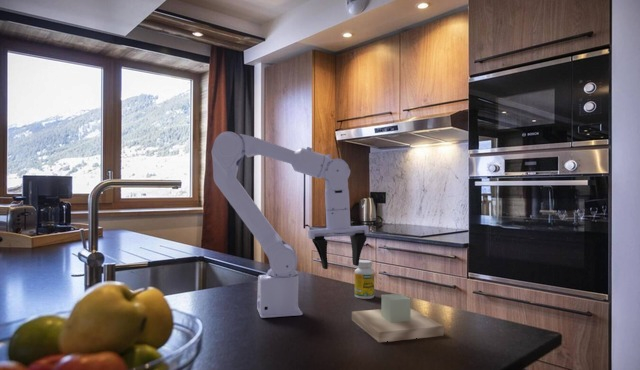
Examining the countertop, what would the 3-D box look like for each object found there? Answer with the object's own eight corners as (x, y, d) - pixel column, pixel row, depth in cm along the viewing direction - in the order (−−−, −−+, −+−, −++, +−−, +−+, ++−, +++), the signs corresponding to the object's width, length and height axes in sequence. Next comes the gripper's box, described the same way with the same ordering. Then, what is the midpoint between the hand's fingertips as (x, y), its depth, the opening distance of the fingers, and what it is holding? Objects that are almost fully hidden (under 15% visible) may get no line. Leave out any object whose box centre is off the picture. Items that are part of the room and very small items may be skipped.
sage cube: (390, 322, 84) (390, 300, 84) (381, 316, 88) (381, 294, 88) (410, 320, 85) (410, 298, 85) (400, 314, 89) (400, 293, 89)
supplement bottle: (365, 293, 115) (366, 258, 115) (378, 297, 111) (378, 261, 111) (350, 295, 112) (350, 260, 112) (362, 300, 108) (363, 263, 108)
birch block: (379, 345, 78) (379, 332, 78) (351, 322, 91) (351, 311, 91) (443, 338, 82) (443, 325, 82) (408, 317, 95) (408, 306, 95)
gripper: (312, 212, 92) (315, 273, 92) (372, 208, 96) (375, 266, 96) (305, 210, 99) (307, 267, 99) (361, 207, 103) (364, 261, 103)
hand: (340, 266), depth 98 cm, fingers open, 7 cm apart
